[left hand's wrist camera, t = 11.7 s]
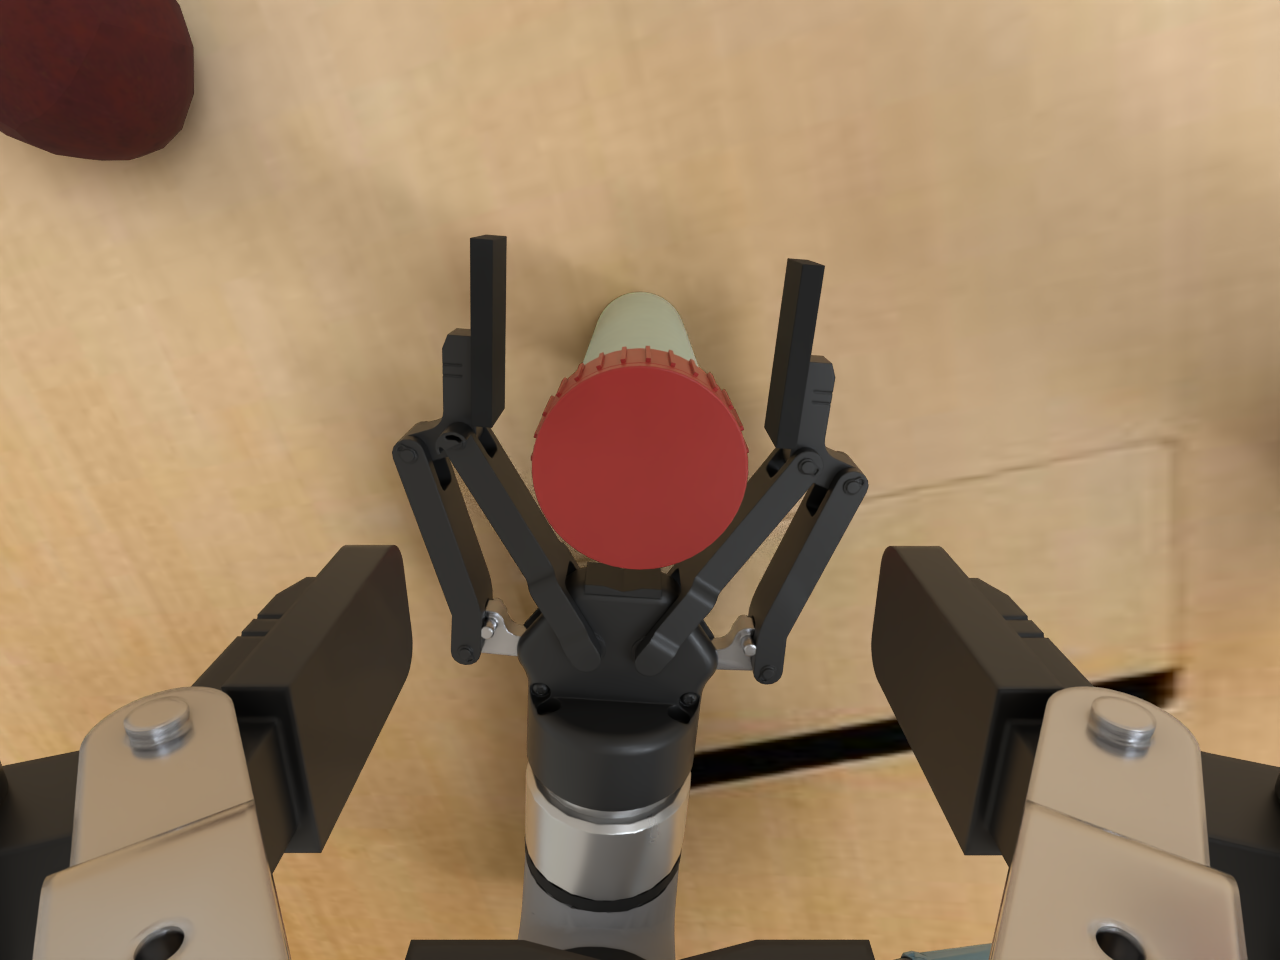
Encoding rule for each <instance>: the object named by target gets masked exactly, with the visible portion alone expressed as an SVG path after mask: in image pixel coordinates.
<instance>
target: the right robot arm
mask: <svg viewBox="0 0 1280 960" xmlns="http://www.w3.org/2000/svg"><path fill="white" fill-rule="evenodd" d="M506 242H507V236H496V235H482V236H478V237H473V238H470V303H471V329H459V328H457V329H455V330H454V331H452V332H451V333H449V334H448V335H447V338H446V340H445V343H444V345H443V348H442V360H443V417H442V418H441V419H438V420H434V421H431V422H427V421H425V422H419V423H417V424H415V425H414V426H413V427H412V428H411V429H410V430H409V431H408V432H407V433H406V434H405V435H404V436H403V437H402V438H401V439H400V440H399V441H398V442H397V443H396V445H395V446H394V447H393V451H392V455H393V459H394V462H395V465H396V467H397V470H398V473H399V475H400V478H401V481H402V483H403V486H404V489H405V491H406V494H407V497H408V499H409V502H410V505H411V507H412V510H413V513H414V515H415V518H416V521H417V523H418V526H419V529H420V531H421V534H422V537H423V539H424V542H425V545H426V547H427V550H428V553H429V555H430V558H431V561H432V563H433V566H434V569H435V571H436V574H437V577H438V579H439V582H440V585H441V587H442V590H443V593H444V595H445V598H446V601H447V603H448V606H449V609H450V611H451V614H452V634H451V654H452V657H453V658H454V660H455V661H457V662H458V663H460V664H464V665H470V664H473V663H475V662H476V661H477V660H478V659H479V657H480V654H481V653H490V654H500V655H511V656H518V659H519V661H520V663H521V664H522V666H523V668H524V669H525V671H526V674H527V677H528V684H529V685H528V722H527V757H528V764H527V768H526V803H525V853H526V854H525V869H524V885H523V902H522V913H521V922H520V929H519V935H518V940H526V941H530V942H534V943H538V944H542V945H546V946H549V947H553V948H557V949H561V950H565V951H569V952H573V953H576V954H580V955H584V956H588V957H592V958H596V959H600V960H675V941H674V919H675V904H676V892H677V880H678V868H679V862H680V857H681V849H682V844H683V840H684V833H685V825H686V817H687V809H688V801H689V793H690V782H691V772H690V771H691V768H692V765H693V759H694V751H695V743H696V735H697V727H698V719H699V711H700V702H701V695H702V691H703V688H704V686H705V684H706V683H707V681H708V680H709V679H710V678H711V676H712V675H713V674H714V672H715V671H716V669H720V670H753V674H754V677H755V679H756V680H757V681H758V682H760V683H762V684H773V683H775V682H777V681H778V680H779V679H780V678H781V675H782V672H783V664H784V656H785V647H786V639H787V636H788V635H789V633H790V631H791V629H792V627H793V625H794V624H795V622H796V620H797V618H798V616H799V614H800V613H801V611H802V609H803V607H804V605H805V604H806V602H807V600H808V598H809V596H810V594H811V593H812V591H813V589H814V587H815V585H816V583H817V582H818V580H819V578H820V576H821V574H822V573H823V571H824V569H825V567H826V565H827V563H828V562H829V560H830V558H831V556H832V554H833V552H834V551H835V549H836V547H837V545H838V543H839V542H840V540H841V538H842V536H843V534H844V532H845V531H846V529H847V527H848V525H849V523H850V521H851V520H852V518H853V516H854V514H855V512H856V511H857V509H858V507H859V505H860V503H861V501H862V500H863V498H864V496H865V494H866V492H867V489H868V480H867V478H866V477H865V475H864V474H863V473H862V472H861V470H860V469H859V468H858V467H857V466H856V464H855V463H854V462H853V461H852V460H851V458H850V457H849V456H848V455H847V454H845V453H844V452H840V451H834V450H832V449H830V448H827V447H825V435H826V429H827V423H828V417H829V411H830V406H831V405H830V403H831V400H832V392H833V388H834V382H835V374H834V370H833V366H832V363H831V362H830V361H828V360H827V359H826V358H825V357H824V356H816V355H811V352H812V345H813V339H814V332H815V326H816V320H817V313H818V307H819V300H820V294H821V288H822V281H823V275H824V268H825V266H824V265H821V264H818V263H815V262H812V261H809V260H802V259H789V258H788V260H787V267H786V275H785V282H784V289H783V296H782V303H781V311H780V318H779V325H778V332H777V339H776V347H775V354H774V361H773V368H772V376H771V383H770V390H769V397H768V404H767V412H766V419H765V426H764V427H765V429H766V431H767V433H768V435H769V437H770V438H771V440H772V442H773V444H774V446H775V447H776V448H775V449H774V450H773V452H772V453H771V454H770V455H769V457H768V458H767V459H766V460H765V461H764V463H763V464H762V465H761V466H760V468H759V469H758V470H757V471H756V472H755V474H754V475H753V476H752V477H751V478H750V480H749V481H748V482H747V486H746V490H745V493H744V497H743V500H742V502H741V505H740V507H739V510H738V512H737V513H736V515H735V517H734V518H733V520H732V522H731V523H730V525H729V526H728V527H727V528H726V530H725V531H724V532H723V533H722V534H721V535H720V536H719V537H718V538H717V539H716V540H715V541H714V542H713V543H712V544H711V545H709V546H708V547H707V548H705V549H704V550H703V551H701V552H699V553H698V554H696V555H694V556H693V557H691V558H689V559H686V560H684V561H682V562H679V563H676V564H675V565H674V566H673V567H672V568H671V570H670V571H669V572H668V573H667V574H665V573H663V572H661V567H660V568H655V569H641V570H639V569H623V568H619V567H614V566H610V565H607V564H604V563H594V562H588V563H587V567H584V568H579V566H578V564H577V563H576V561H575V559H574V558H573V556H572V554H571V553H570V551H569V549H568V548H567V546H566V545H565V544H564V543H562V542H560V541H559V540H558V538H557V537H556V535H555V533H554V532H553V530H552V528H551V527H550V525H549V523H548V522H547V520H546V518H545V517H544V515H543V514H542V512H541V510H540V509H539V507H538V505H537V504H536V502H535V500H534V499H533V497H532V495H531V494H530V492H529V490H528V489H527V487H526V486H525V484H524V482H523V481H522V479H521V477H520V476H519V474H518V472H517V471H516V469H515V467H514V466H513V464H512V462H511V461H510V459H509V458H508V456H507V454H506V453H505V451H504V449H503V448H502V446H501V444H500V443H499V441H498V439H497V438H496V436H495V434H494V433H493V431H492V430H491V428H492V427H493V425H494V424H495V422H496V421H497V419H498V418H499V416H500V415H501V413H502V412H503V410H504V409H505V329H506ZM450 461H451V462H452V464H453V465H454V467H455V468H456V470H457V472H458V473H459V475H460V476H461V478H462V479H463V481H464V483H465V484H466V486H467V487H468V489H469V490H470V492H471V494H472V495H473V497H474V498H475V500H476V501H477V503H478V504H479V506H480V508H481V509H482V511H483V512H484V514H485V515H486V517H487V519H488V520H489V522H490V523H491V525H492V526H493V528H494V530H495V531H496V533H497V534H498V536H499V537H500V539H501V541H502V542H503V544H504V545H505V547H506V548H507V550H508V552H509V553H510V555H511V556H512V558H513V559H514V561H515V563H516V564H517V566H518V567H519V569H520V570H521V572H522V574H523V575H524V577H525V578H526V580H527V583H528V588H529V592H530V594H531V596H532V598H533V600H534V601H535V603H536V604H537V606H538V609H537V610H536V611H535V612H534V613H533V614H532V615H531V616H530V618H529V619H528V620H527V621H526V622H525V623H524V625H520V624H517V623H515V622H513V621H512V620H511V619H510V617H509V615H508V611H507V608H506V606H505V605H504V603H503V601H502V600H501V599H499V598H494V599H493V596H492V584H491V579H490V575H489V571H488V568H487V566H486V563H485V560H484V557H483V554H482V551H481V548H480V545H479V543H478V540H477V537H476V534H475V531H474V528H473V525H472V522H471V519H470V517H469V514H468V511H467V508H466V505H465V502H464V499H463V496H462V494H461V491H460V488H459V485H458V482H457V479H456V476H455V473H454V470H453V468H452V465H451V462H450ZM807 490H808V491H807ZM806 491H807V492H806ZM805 492H806V494H805ZM804 494H805V496H804V498H803V500H802V502H801V504H800V506H799V508H798V510H797V512H796V514H795V516H794V518H793V519H792V521H791V523H790V525H789V527H788V529H787V531H786V533H785V535H784V537H783V539H782V541H781V543H780V545H779V546H778V548H777V550H776V552H775V554H774V556H773V558H772V560H771V562H770V564H769V566H768V568H767V570H766V572H765V574H764V575H763V577H762V579H761V581H760V583H759V585H758V587H757V589H756V591H755V593H754V596H753V598H752V601H751V604H750V608H749V614H748V616H747V615H740V616H739V617H738V618H737V620H736V621H735V622H734V624H733V625H732V628H731V630H730V632H729V633H728V634H727V635H725V636H723V637H721V638H714V635H713V634H712V632H711V631H710V629H709V628H708V626H707V625H706V623H705V622H704V620H703V619H704V618H705V617H706V616H707V615H708V613H709V612H710V611H711V610H712V608H713V607H714V605H715V603H716V601H717V598H718V595H719V593H720V592H721V590H722V589H723V588H724V587H725V586H726V585H727V583H728V582H729V581H730V580H731V579H732V578H733V576H734V575H735V574H736V573H737V572H738V571H739V569H740V568H741V567H742V566H743V565H744V564H745V562H746V561H747V560H748V559H749V558H750V557H751V555H752V554H753V553H754V552H755V551H756V550H757V548H758V547H759V546H760V545H761V544H762V543H763V541H764V540H765V539H766V538H767V537H768V536H769V534H770V533H771V532H772V531H773V530H774V529H775V527H776V526H777V525H778V524H779V523H780V522H781V520H782V519H783V518H784V517H785V516H786V515H787V513H788V512H789V511H790V510H791V509H792V508H793V506H794V505H795V504H796V503H797V502H798V501H799V499H800V498H801V497H802V496H803V495H804ZM991 946H992V943H990V944H982V945H975V946H967V947H959V948H952V949H944V950H937V951H929V952H922V953H919V952H914V951H909V952H905V953H903V954H902V956H901V958H899V959H895V960H989V955H990V950H991Z"/></svg>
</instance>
